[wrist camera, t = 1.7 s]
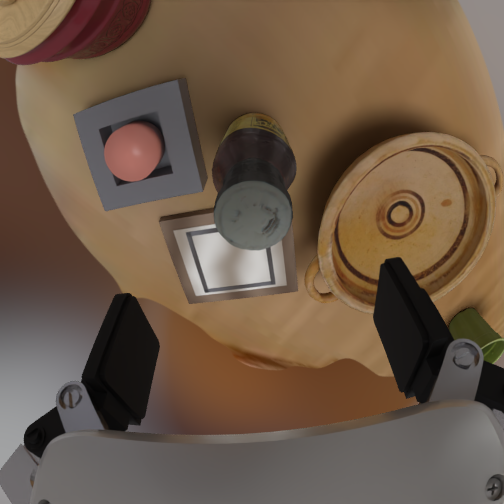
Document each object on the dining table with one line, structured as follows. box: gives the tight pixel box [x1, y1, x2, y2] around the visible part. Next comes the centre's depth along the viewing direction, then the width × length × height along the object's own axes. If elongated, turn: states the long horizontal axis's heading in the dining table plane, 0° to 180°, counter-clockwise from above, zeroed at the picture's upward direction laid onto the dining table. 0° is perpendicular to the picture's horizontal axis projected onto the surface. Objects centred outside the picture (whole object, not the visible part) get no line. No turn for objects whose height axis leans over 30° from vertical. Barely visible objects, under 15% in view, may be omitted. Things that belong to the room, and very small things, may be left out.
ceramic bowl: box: [305, 132, 503, 314], centre depth 33 cm, size 30×24×8 cm
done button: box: [104, 121, 165, 182], centre depth 28 cm, size 6×6×3 cm
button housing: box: [73, 78, 207, 211], centre depth 30 cm, size 12×12×4 cm
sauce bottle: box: [212, 113, 296, 250], centre depth 23 cm, size 6×6×20 cm
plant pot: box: [449, 308, 504, 364], centre depth 46 cm, size 12×12×11 cm
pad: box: [159, 208, 298, 304], centre depth 40 cm, size 16×14×1 cm
